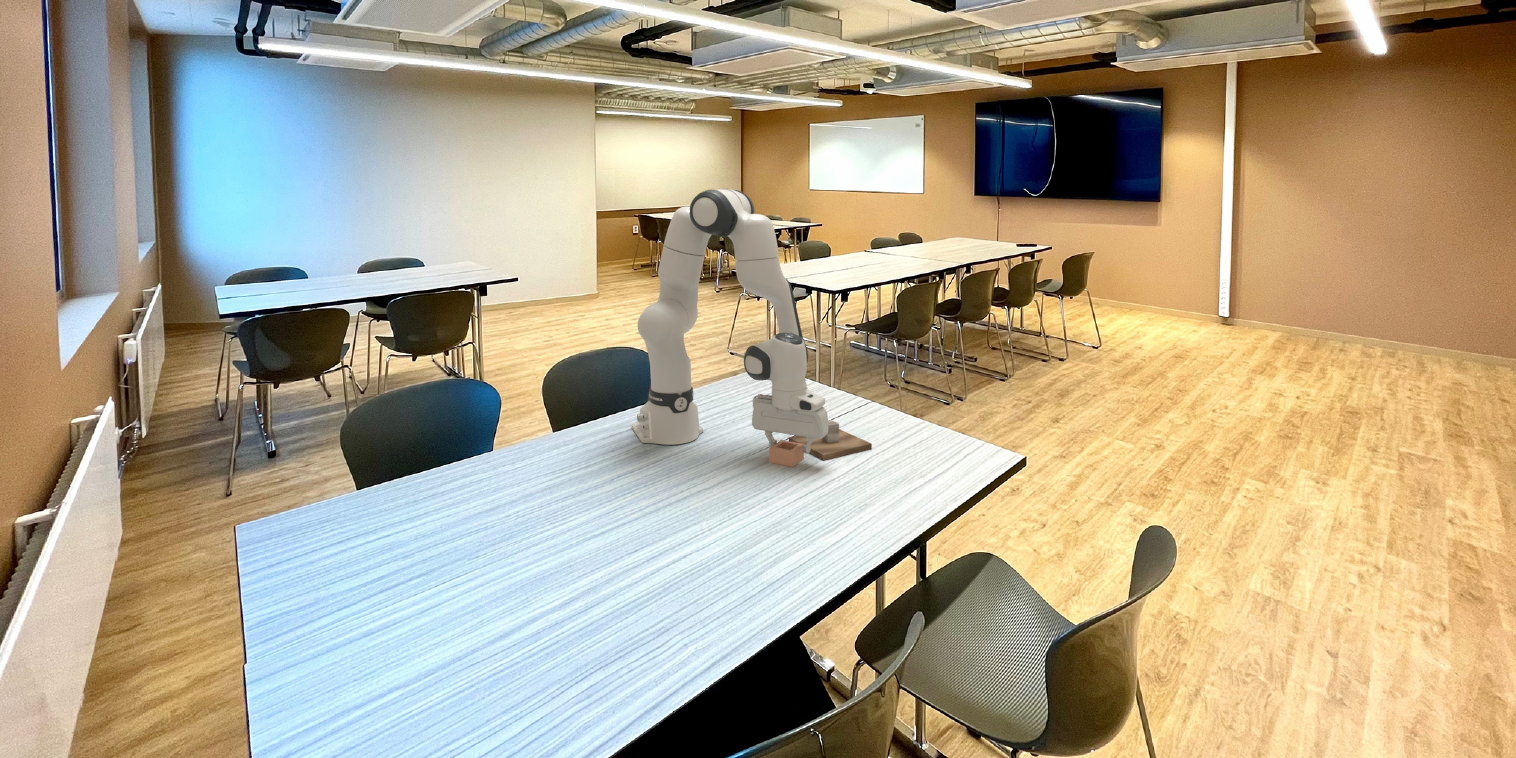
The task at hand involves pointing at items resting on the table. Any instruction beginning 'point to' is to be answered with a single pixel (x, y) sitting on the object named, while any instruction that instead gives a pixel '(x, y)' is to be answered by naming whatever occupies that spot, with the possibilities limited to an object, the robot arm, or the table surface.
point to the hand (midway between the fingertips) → (789, 449)
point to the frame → (786, 453)
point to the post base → (834, 443)
